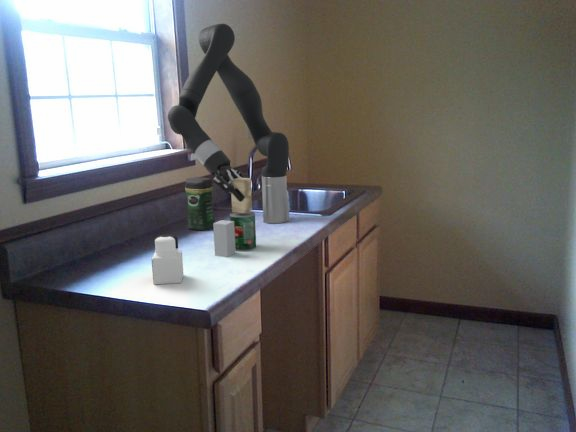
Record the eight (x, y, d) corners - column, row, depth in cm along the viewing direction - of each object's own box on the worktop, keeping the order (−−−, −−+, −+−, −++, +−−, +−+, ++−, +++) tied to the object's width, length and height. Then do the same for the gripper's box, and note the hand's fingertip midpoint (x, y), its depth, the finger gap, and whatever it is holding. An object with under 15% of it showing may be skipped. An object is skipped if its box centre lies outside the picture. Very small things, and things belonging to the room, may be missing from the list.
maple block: (239, 208, 183) (238, 177, 181) (252, 209, 181) (250, 178, 179) (232, 211, 179) (230, 179, 177) (244, 212, 177) (243, 180, 175)
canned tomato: (261, 246, 184) (259, 212, 182) (247, 252, 178) (246, 217, 175) (240, 243, 188) (238, 210, 186) (226, 249, 181) (224, 215, 179)
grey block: (223, 251, 179) (221, 220, 177) (235, 253, 177) (234, 221, 175) (214, 255, 175) (213, 223, 173) (227, 257, 173) (225, 224, 171)
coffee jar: (218, 227, 211) (216, 176, 207) (205, 231, 205) (202, 179, 201) (197, 224, 216) (194, 175, 212) (184, 229, 209) (180, 178, 205)
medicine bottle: (157, 276, 157) (153, 233, 154) (183, 274, 158) (180, 232, 155) (153, 284, 150) (149, 240, 147) (181, 283, 151) (178, 238, 148)
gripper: (205, 152, 173) (241, 194, 171) (231, 147, 186) (265, 186, 183) (192, 168, 177) (227, 210, 174) (218, 163, 189) (251, 202, 186)
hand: (246, 198), depth 179 cm, fingers closed on maple block, 4 cm apart
